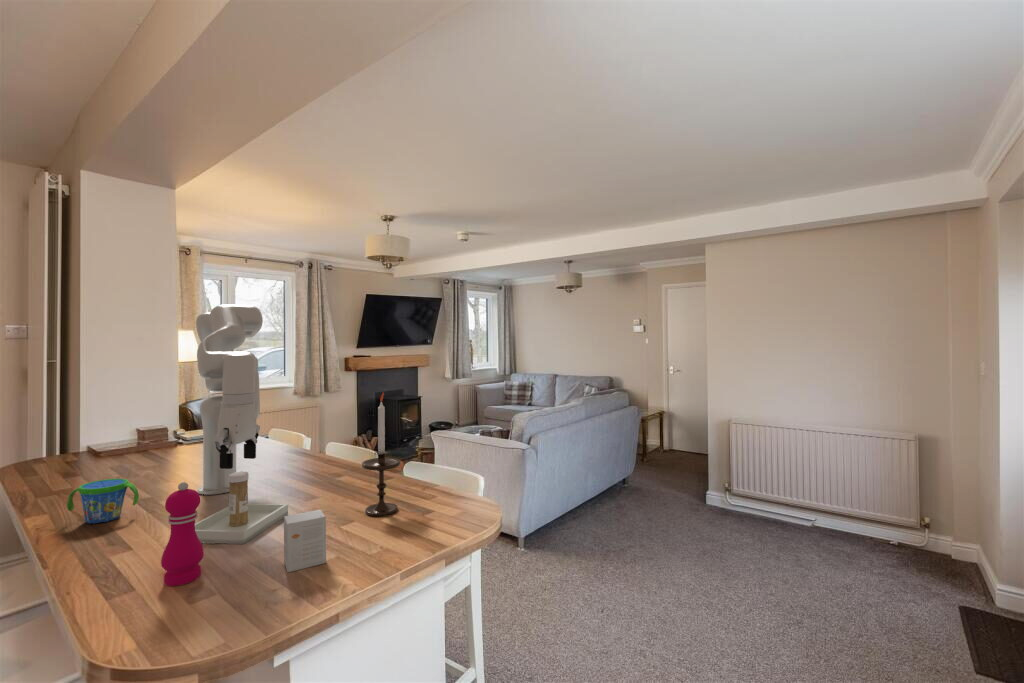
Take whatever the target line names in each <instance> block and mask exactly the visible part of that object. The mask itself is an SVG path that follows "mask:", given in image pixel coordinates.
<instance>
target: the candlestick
mask: <svg viewBox="0 0 1024 683" xmlns="http://www.w3.org/2000/svg"><path fill="white" fill-rule="evenodd" d="M384 392H385V391H382V394H381V396H380V398H379V400H380V403H379V406H378V407H377V452H374V455H377V457H375V458H369V459H366V460H363V461H362V463H361V468H362V469H364V470H368V471H377V472H378V483H377V484H376V489H378V492H377V493H376V494H377V495H376V496H378V502H377V503H375V504H370V505H369V506H367V507H366V508H365V511H364V512H365V515H366V516H368V517H373V518H374V517H375V518H379V517H380V518H382V517H387V516H388V517H389V516H392V515H393V514H396V513H397V512H398V505H397V504H395V503H392V502H386V501H385V495H387V494H386V492H385V489H386V488H387V483H385V471H386V470H392V469H395V468H398V467H400V466H401V459H400V458H397V457H388V456H387V457H386V454H389V451H386V450H385V449H386V448H385V447H386V446H385V444H386V442H385V441H386V436H385V435H386V427H385V426H386V425H385V423H386V422H385V420H386V419H385V418H386V415H385V413H386V410H385V406H384V404H383V401H384V400H383V399H384V396H385V393H384Z"/></svg>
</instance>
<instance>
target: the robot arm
mask: <svg viewBox="0 0 1024 683" xmlns="http://www.w3.org/2000/svg"><path fill="white" fill-rule="evenodd" d="M262 314H263V313H262V311H261V310H260V308H258V307H257V306H255V305H251V304H250V305H249V304H248V305H245V304H219V305H216V306H215V307H213V308H212V309H211V311H210V312H208V311H207V312H203V313H201V314H199V315H197V317H196V321H195V327H196V332H197V337H198V338H199V340H200V342H199V345H198V346H197V351H196V360H197V361H196V362H197V370H198V373H199V375H200V377H202V378H203V379H204V380H205V381H204V382H205V386H206V388H207V390H208V391H209V392H215V393H216V392H217V393H220V392H221V393H222V395H217V396H209V397H208V398H205V399H204V400H202V402H201V404H200V407H199V408H200V409H199V410H200V411H199V412H200V418H201V423H202V436H203V438H202V440H203V442H202V445H203V447H202V448H203V450H202V451H203V452H202V454H203V456H202V458H203V460H202V461H203V462H202V463H203V464H202V466H203V468H202V470H203V472H202V481H203V482H202V483H203V484H202V485H201V486H200V487H198V488H197V492H198V494H199V495H203V494H204V495H203V496H209V495H210V496H213V495H221V494H225V493H226V494H227V493H230V487H229V485H230V484H229V475H230V474H232V473H235V472H237V445H238V444H241V443H243V458H244V459H246V460H247V459H251V460H252V459H256V458H257V443H258V438H259V435H260V434H259V433H260V428H261V426H260V425H258V424H257V419H258V418H259V416H260V410H261V402H260V401H261V400H260V398H261V397H260V394H261V393H260V374H259V373H260V372H259V370H258V369H259V360H258V357H256V354H254V353H253V352H251V351H234V350H235V349H238V348H240V347H241V346H242V345H243V344H244V343H245V341H246V339H247V338H254V337H255V336H256V335H257V333H259V332H260V331H261V329H262V326H263V322H264V320H263V315H262ZM238 472H244V470H240V471H238Z"/></svg>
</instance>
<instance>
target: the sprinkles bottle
mask: <svg viewBox="0 0 1024 683" xmlns="http://www.w3.org/2000/svg"><path fill="white" fill-rule="evenodd" d="M248 482H249V472H248V471H243V472H239V471H236V472H235V473H232V474H230V475H229V484H230V485H229V487H230V492H228V493H229V494H228V502H229V503H228V506H229V513H230V522H229V525H230V526H241V525H244V524H246V523H247V522H248V504H249V493H248V491H249V490H248V487H249V486H248V484H249V483H248Z"/></svg>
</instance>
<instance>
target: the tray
mask: <svg viewBox="0 0 1024 683" xmlns="http://www.w3.org/2000/svg"><path fill="white" fill-rule="evenodd" d="M284 516H289V504H288V503H248V522H247V523H246V524H244V525H241V526H230V525H229V522H230V513H229V505H228V506H226V507H225V508H222V509H221V510H218V511H216V512H214V513H213V514H211V515H209V516H206V517H205V518H204V519H201V520H200V521H198V522H195V531H196V534H197V536H198V538H199V540H200V542H204V543H203V544H210V543H226V544H225V545H245V544H246V543H247V542H249V541H251V540H252V539H254V538H255V537H257V536H258V535H260V534H262V533H263V532H264V531H266V530H268V529H269V528H271V527H272V526H273V525H275V524H276V523H278V522H279V521H281V520H282V519H284ZM227 543H228V544H227Z"/></svg>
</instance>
